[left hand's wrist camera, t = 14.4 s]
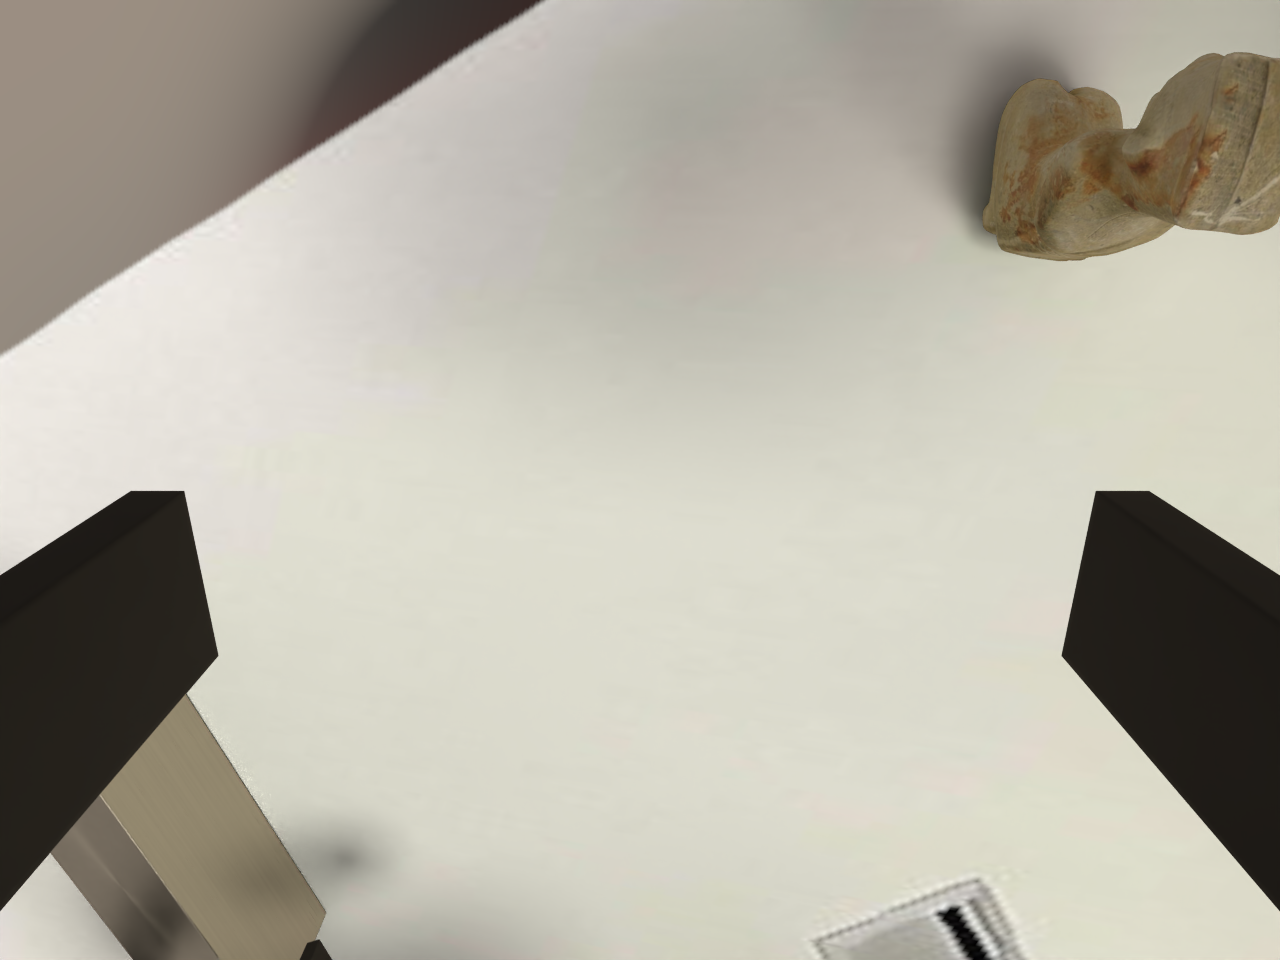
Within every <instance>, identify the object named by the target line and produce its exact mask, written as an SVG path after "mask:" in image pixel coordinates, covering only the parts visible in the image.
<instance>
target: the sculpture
mask: <svg viewBox="0 0 1280 960" xmlns="http://www.w3.org/2000/svg"><path fill="white" fill-rule="evenodd" d="M1279 217H1280V58H1270V57H1265V56H1261V55H1256V54H1252V53H1243V52H1234V53H1231V54H1227V55H1226V56H1222V55H1220V54H1216V53H1211V54H1206V55H1203V56H1201V57H1199V58H1198V59H1196V60H1195V61H1194V62H1192V63H1191V64H1190V65H1188V66H1187V67H1186V68H1185V69H1184V70H1182V71H1180V72H1178V73H1177V74H1176V75H1175V76H1173V77H1172V78H1171V79H1170V80H1168V81H1167V83H1166V84H1165V85H1164V87H1163V88H1162V89H1161V91H1160V92H1158V93H1156V94H1155V95H1154V96H1153V97H1152V98H1151V100H1150V102H1149V104H1148V106H1147V108H1146V110H1145V112H1144V115H1143V117H1142V119H1141V121H1140V123H1139V125H1138V127H1137V128H1136V129H1123V123H1122V116H1121V111H1120V107H1119V105H1118V103H1117V102H1116V100H1114V99H1113V98H1112V97H1111V96H1110V95H1108V94H1107V93H1105V92H1104V91H1100V90H1097V89H1094V88H1090V87H1084V88H1077V89H1074V90H1072V91H1070V92H1069V93H1068V92H1067V91H1065V90H1064V89H1063V88H1062V86H1061V85H1060V84H1059V82H1058V81H1054V80H1047V79H1035V80H1032V81H1030V82H1028V83H1026V84H1024V85H1022V86H1021V87H1020V88H1019V89H1018V90H1017V91H1016V92H1015V93H1014V94H1013V96H1012V97H1011V98H1010V100H1009V102H1008V103H1007V105H1006V107H1005V109H1004V112H1003V114H1002V117H1001V121H1000V124H999V129H998V135H997V141H996V148H995V157H994V165H993V180H992V188H991V195H990V200H989V204H988V205H986V207H985V208H984V210H983V219H982V220H983V227H984V229H985V230H986V231H988V232H990V233H992V234H996V235H997V241H998V245H999V247H1000V248H1001V249H1002V250H1004V251H1006V252H1009V253H1013V254H1018V255H1022V256H1026V257H1032V258H1039V259H1047V260H1055V261H1068V260H1084V259H1085V258H1088V257H1092V256H1103V255H1109V254H1113V253H1117V252H1120V251H1123V250H1126V249H1129V248H1132V247H1135V246H1138V245H1141V244H1144V243H1147V242H1149V241H1151V240H1154V239H1156V238H1158V237H1159V236H1161V235H1162V234H1164V233H1165V232H1167V231H1168V230H1169V229H1170V228H1172V227H1173V226H1174V225H1177V226H1180V227H1182V228H1186V229H1191V230H1207V231H1217V232H1226V233H1232V234H1238V235H1246V234H1254V233H1259V232H1262V231H1265V230H1268V229H1270V228H1271V227H1273V226H1274V225H1275V224H1276V223H1277V222H1278V219H1279Z"/></svg>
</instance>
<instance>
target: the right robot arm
mask: <svg viewBox="0 0 1280 960" xmlns="http://www.w3.org/2000/svg"><path fill="white" fill-rule="evenodd" d="M300 960H332V959H331V957H330V956H329V954H328V952H327V951H326V949H325V948H324V946H323V944H322V943H321V941H320V940H316V941H312V942H308V943H307V944H306V946H305V949H304V951H303V953H302V955H301V958H300Z"/></svg>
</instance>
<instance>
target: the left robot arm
mask: <svg viewBox="0 0 1280 960" xmlns="http://www.w3.org/2000/svg"><path fill="white" fill-rule="evenodd" d="M217 657H218V651H217V646H216V642H215V637H214V632H213V627H212V622H211V618H210V613H209V608H208V603H207V598H206V594H205V589H204V584H203V579H202V574H201V570H200V565H199V560H198V555H197V550H196V546H195V541H194V536H193V531H192V526H191V521H190V517H189V512H188V507H187V502H186V497H185V493H184V491H130V492H129V493H127V494H126V495H124V496H122V497H121V498H119V499H118V500H116V501H115V502H113V503H112V504H110V505H109V506H107V507H105V508H104V509H102V510H101V511H99V512H98V513H96V514H95V515H93V516H92V517H90V518H88V519H87V520H85V521H84V522H82V523H81V524H79V525H78V526H76V527H74V528H73V529H71V530H70V531H68V532H67V533H65V534H64V535H62V536H61V537H59V538H57V539H56V540H54V541H53V542H51V543H50V544H48V545H47V546H45V547H43V548H42V549H40V550H39V551H37V552H36V553H34V554H33V555H31V556H30V557H28V558H26V559H25V560H23V561H22V562H20V563H19V564H17V565H16V566H14V567H12V568H11V569H9V570H8V571H6V572H5V573H3V574H2V575H0V911H1V910H2V908H3V907H4V906H5V905H6V904H7V903H8V901H9V900H10V899H11V898H12V897H13V896H14V894H15V893H16V892H17V891H18V890H19V889H20V887H21V886H22V885H23V884H24V883H25V882H26V880H27V879H28V878H29V877H30V876H31V875H32V873H33V872H34V871H35V870H36V869H37V867H38V866H39V865H40V864H41V863H42V862H43V860H44V859H45V858H46V857H47V856H48V855H49V853H50V852H51V851H52V850H53V849H54V848H55V846H56V845H57V844H58V843H59V842H60V841H61V839H62V838H63V837H64V836H65V835H66V834H67V832H68V831H69V830H70V829H71V828H72V827H73V825H74V824H75V823H76V822H77V821H78V820H79V818H80V817H81V816H82V815H83V814H84V812H85V811H86V810H87V809H88V808H89V807H90V805H91V804H92V803H93V802H94V801H95V800H96V798H97V797H98V796H99V795H100V794H101V793H102V791H103V790H104V789H105V788H106V787H107V786H108V784H109V783H110V782H111V781H112V780H113V779H114V777H115V776H116V775H117V774H118V773H119V772H120V770H121V769H122V768H123V767H124V766H125V765H126V763H127V762H128V761H129V760H130V759H131V757H132V756H133V755H134V754H135V753H136V752H137V750H138V749H139V748H140V747H141V746H142V745H143V743H144V742H145V741H146V740H147V739H148V738H149V736H150V735H151V734H152V733H153V732H154V731H155V729H156V728H157V727H158V726H159V725H160V724H161V722H162V721H163V720H164V719H165V718H166V717H167V715H168V714H169V713H170V712H171V711H172V710H173V708H174V707H175V706H176V705H177V704H178V703H179V701H180V700H181V699H182V698H183V697H184V695H185V694H186V693H187V692H188V691H189V690H190V688H191V687H192V686H193V685H194V684H195V683H196V681H197V680H198V679H199V678H200V677H201V676H202V674H203V673H204V672H205V671H206V670H207V669H208V667H209V666H210V665H211V664H212V663H213V662H214V660H215V659H216V658H217ZM1062 657H1063V658H1064V659H1065V660H1066V662H1067V663H1068V664H1069V665H1070V666H1071V667H1072V669H1073V670H1074V671H1075V672H1076V673H1077V674H1078V676H1079V677H1080V678H1081V679H1082V680H1083V681H1084V683H1085V684H1086V685H1087V686H1088V687H1089V688H1090V690H1091V691H1092V692H1093V693H1094V694H1095V695H1096V697H1097V698H1098V699H1099V700H1100V701H1101V703H1102V704H1103V705H1104V706H1105V707H1106V708H1107V710H1108V711H1109V712H1110V713H1111V714H1112V715H1113V717H1114V718H1115V719H1116V720H1117V721H1118V722H1119V724H1120V725H1121V726H1122V727H1123V728H1124V729H1125V731H1126V732H1127V733H1128V734H1129V735H1130V736H1131V738H1132V739H1133V740H1134V741H1135V742H1136V743H1137V745H1138V746H1139V747H1140V748H1141V749H1142V750H1143V752H1144V753H1145V754H1146V755H1147V756H1148V757H1149V759H1150V760H1151V761H1152V762H1153V763H1154V765H1155V766H1156V767H1157V768H1158V769H1159V770H1160V772H1161V773H1162V774H1163V775H1164V776H1165V777H1166V779H1167V780H1168V781H1169V782H1170V783H1171V784H1172V786H1173V787H1174V788H1175V789H1176V790H1177V791H1178V793H1179V794H1180V795H1181V796H1182V797H1183V798H1184V800H1185V801H1186V802H1187V803H1188V804H1189V805H1190V807H1191V808H1192V809H1193V810H1194V811H1195V812H1196V814H1197V815H1198V816H1199V817H1200V818H1201V820H1202V821H1203V822H1204V823H1205V824H1206V825H1207V827H1208V828H1209V829H1210V830H1211V831H1212V832H1213V834H1214V835H1215V836H1216V837H1217V838H1218V839H1219V841H1220V842H1221V843H1222V844H1223V845H1224V846H1225V848H1226V849H1227V850H1228V851H1229V852H1230V853H1231V855H1232V856H1233V857H1234V858H1235V859H1236V860H1237V862H1238V863H1239V864H1240V865H1241V866H1242V867H1243V869H1244V870H1245V871H1246V872H1247V873H1248V875H1249V876H1250V877H1251V878H1252V879H1253V880H1254V882H1255V883H1256V884H1257V885H1258V886H1259V887H1260V889H1261V890H1262V891H1263V892H1264V893H1265V894H1266V896H1267V897H1268V898H1269V899H1270V900H1271V901H1272V903H1273V904H1274V905H1275V906H1276V907H1277V908H1278V910H1279V911H1280V575H1278V574H1277V573H1275V572H1274V571H1272V570H1271V569H1269V568H1268V567H1266V566H1264V565H1263V564H1261V563H1260V562H1258V561H1257V560H1255V559H1254V558H1252V557H1250V556H1249V555H1247V554H1246V553H1244V552H1243V551H1241V550H1240V549H1238V548H1237V547H1235V546H1233V545H1232V544H1230V543H1229V542H1227V541H1226V540H1224V539H1223V538H1221V537H1219V536H1218V535H1216V534H1215V533H1213V532H1212V531H1210V530H1209V529H1207V528H1206V527H1204V526H1202V525H1201V524H1199V523H1198V522H1196V521H1195V520H1193V519H1192V518H1190V517H1188V516H1187V515H1185V514H1184V513H1182V512H1181V511H1179V510H1178V509H1176V508H1175V507H1173V506H1171V505H1170V504H1168V503H1167V502H1165V501H1164V500H1162V499H1161V498H1159V497H1158V496H1156V495H1154V494H1153V493H1151V492H1150V491H1096V493H1095V497H1094V502H1093V507H1092V512H1091V517H1090V521H1089V526H1088V531H1087V536H1086V541H1085V546H1084V550H1083V555H1082V560H1081V565H1080V570H1079V574H1078V579H1077V584H1076V589H1075V594H1074V598H1073V603H1072V608H1071V613H1070V618H1069V622H1068V627H1067V632H1066V637H1065V642H1064V646H1063V651H1062Z"/></svg>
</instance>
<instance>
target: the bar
mask: <svg viewBox="0 0 1280 960" xmlns="http://www.w3.org/2000/svg"><path fill="white" fill-rule="evenodd" d="M50 853H51V854H52V855H53V857H54V858H55V859H56V861H57V862H58V863H59V864H60V866H61V867H62V868H63V870H64V871H65V872H66V874H67V875H68V876H69V877H70V879H71V880H72V881H73V883H74V884H75V885H76V886H77V888H78V889H79V890H80V892H81V893H82V894H83V896H84V897H85V898H86V899H87V901H88V902H89V903H90V905H91V906H92V907H93V908H94V910H95V911H96V912H97V914H98V915H99V916H100V918H101V919H102V920H103V921H104V923H105V924H106V925H107V927H108V928H109V929H110V930H111V932H112V933H113V934H114V936H115V937H116V938H117V940H118V941H119V942H120V943H121V945H122V946H123V947H124V949H125V950H126V951H127V952H128V954H129V955H130V956H131V958H132V959H133V960H300V958H301V955H302V953H303V951H304V949H305V946H306V944H307V943H308V942H312V941H315V939H316V937H317V934H318V932H319V929H320V927H321V925H322V922H323V920H324V917H325V915H326V912H325V910H324V909H323V907H322V906H321V904H320V903H319V901H318V899H317V898H316V896H315V895H314V893H313V892H312V890H311V889H310V887H309V885H308V884H307V882H306V881H305V879H304V878H303V876H302V875H301V873H300V871H299V870H298V868H297V867H296V865H295V864H294V862H293V861H292V859H291V857H290V856H289V854H288V853H287V851H286V850H285V848H284V847H283V845H282V843H281V842H280V840H279V839H278V837H277V836H276V834H275V833H274V831H273V829H272V828H271V826H270V825H269V823H268V822H267V820H266V819H265V817H264V815H263V814H262V812H261V811H260V809H259V808H258V806H257V805H256V803H255V801H254V800H253V798H252V797H251V795H250V794H249V792H248V791H247V789H246V787H245V786H244V784H243V783H242V781H241V780H240V778H239V777H238V775H237V773H236V772H235V770H234V769H233V767H232V766H231V764H230V763H229V761H228V759H227V758H226V756H225V755H224V753H223V752H222V750H221V749H220V747H219V745H218V744H217V742H216V741H215V739H214V738H213V736H212V735H211V733H210V731H209V730H208V728H207V727H206V725H205V724H204V722H203V721H202V719H201V717H200V716H199V714H198V713H197V711H196V710H195V708H194V707H193V705H192V703H191V702H190V700H189V699H188V697H187V696H186V694H185V695H184V697H183V698H182V699H181V700H180V701H179V703H178V704H177V705H176V706H175V707H174V708H173V710H172V711H171V712H170V713H169V714H168V715H167V717H166V718H165V719H164V720H163V721H162V722H161V724H160V725H159V726H158V727H157V728H156V729H155V731H154V732H153V733H152V734H151V735H150V736H149V738H148V739H147V740H146V741H145V742H144V743H143V745H142V746H141V747H140V748H139V749H138V750H137V752H136V753H135V754H134V755H133V756H132V757H131V759H130V760H129V761H128V762H127V763H126V765H125V766H124V767H123V768H122V769H121V770H120V772H119V773H118V774H117V775H116V776H115V777H114V779H113V780H112V781H111V782H110V783H109V784H108V786H107V787H106V788H105V789H104V790H103V791H102V793H101V794H100V795H99V796H98V797H97V798H96V800H95V801H94V802H93V803H92V804H91V805H90V807H89V808H88V809H87V810H86V811H85V812H84V814H83V815H82V816H81V817H80V818H79V820H78V821H77V822H76V823H75V824H74V825H73V827H72V828H71V829H70V830H69V831H68V832H67V834H66V835H65V836H64V837H63V838H62V839H61V841H60V842H59V843H58V844H57V845H56V846H55V848H54V849H53V850H52V851H51V852H50Z"/></svg>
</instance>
